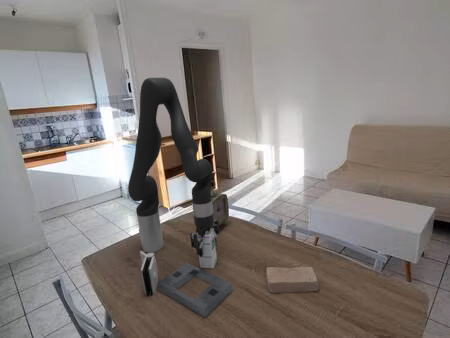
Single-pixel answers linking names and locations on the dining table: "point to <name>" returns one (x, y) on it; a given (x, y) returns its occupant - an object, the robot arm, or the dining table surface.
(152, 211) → the robot arm
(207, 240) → the syrup box
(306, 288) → the brick
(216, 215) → the tabletop clock
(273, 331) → the dining table surface
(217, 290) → the rail plate
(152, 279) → the hinge
